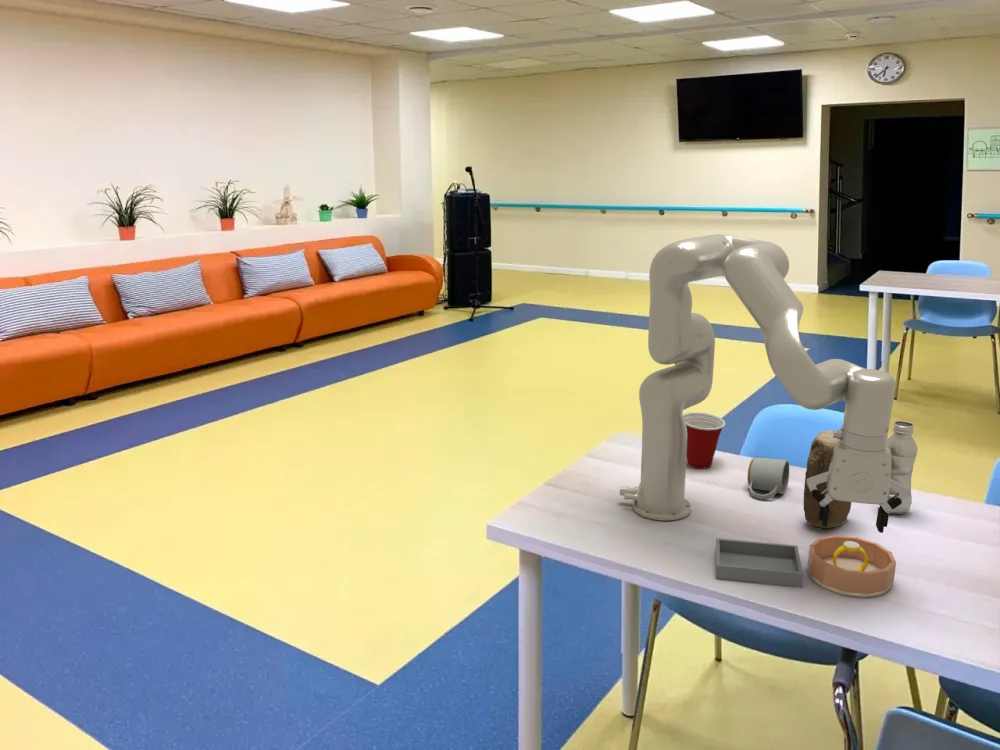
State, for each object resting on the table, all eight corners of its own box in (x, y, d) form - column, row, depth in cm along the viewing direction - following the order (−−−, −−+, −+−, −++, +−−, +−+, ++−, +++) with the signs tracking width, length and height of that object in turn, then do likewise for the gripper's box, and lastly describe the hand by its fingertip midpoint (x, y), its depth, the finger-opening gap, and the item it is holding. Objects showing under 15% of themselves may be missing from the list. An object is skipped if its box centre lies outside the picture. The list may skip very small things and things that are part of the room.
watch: (834, 577, 160) (835, 548, 159) (831, 569, 163) (831, 541, 161) (868, 577, 159) (869, 547, 158) (864, 569, 162) (865, 540, 160)
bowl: (812, 592, 156) (815, 568, 155) (804, 555, 170) (806, 532, 168) (899, 601, 153) (902, 576, 152) (883, 562, 166) (886, 539, 165)
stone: (828, 537, 177) (837, 445, 171) (795, 526, 182) (804, 436, 176) (854, 519, 185) (864, 430, 179) (822, 509, 189) (831, 422, 184)
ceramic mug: (753, 480, 205) (755, 450, 203) (788, 487, 201) (791, 456, 199) (741, 497, 196) (743, 466, 194) (778, 504, 192) (781, 472, 190)
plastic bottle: (902, 520, 184) (913, 431, 178) (870, 510, 189) (881, 423, 183) (915, 511, 188) (927, 424, 182) (884, 502, 193) (895, 416, 187)
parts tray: (715, 578, 161) (716, 565, 161) (715, 550, 172) (716, 538, 171) (801, 587, 158) (803, 573, 157) (796, 558, 168) (797, 545, 168)
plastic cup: (709, 476, 208) (712, 429, 204) (669, 465, 215) (671, 419, 211) (730, 463, 215) (733, 417, 212) (691, 453, 222) (694, 408, 219)
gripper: (814, 442, 152) (803, 530, 157) (921, 451, 149) (906, 541, 154) (810, 427, 159) (799, 512, 164) (911, 436, 155) (897, 522, 161)
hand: (851, 526), depth 159 cm, fingers open, 9 cm apart
